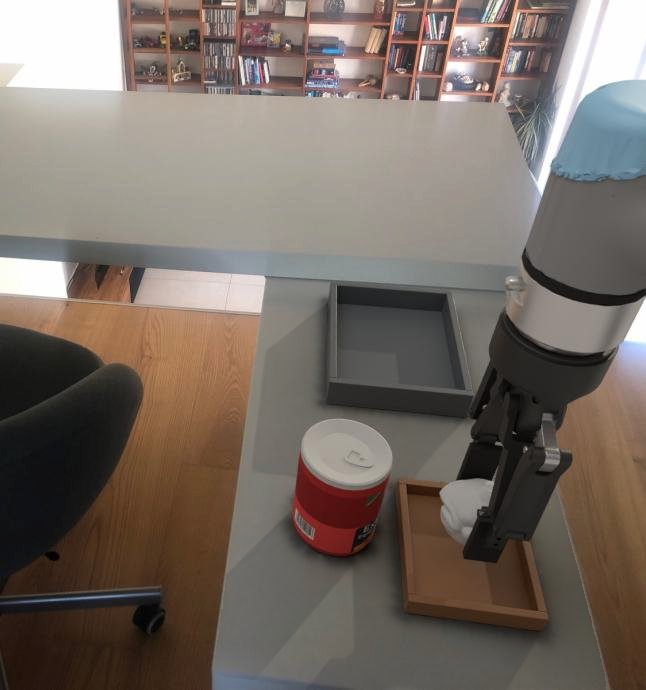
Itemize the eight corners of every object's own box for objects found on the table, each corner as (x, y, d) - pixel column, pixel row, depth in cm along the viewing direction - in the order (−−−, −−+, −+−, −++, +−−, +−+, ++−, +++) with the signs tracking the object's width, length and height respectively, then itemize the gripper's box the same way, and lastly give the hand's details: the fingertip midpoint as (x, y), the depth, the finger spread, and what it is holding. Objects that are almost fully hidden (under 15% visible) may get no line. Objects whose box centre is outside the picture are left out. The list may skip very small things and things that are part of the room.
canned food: (368, 568, 64) (388, 495, 57) (283, 545, 66) (292, 471, 59) (378, 503, 69) (398, 429, 62) (299, 483, 71) (310, 409, 64)
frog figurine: (501, 578, 60) (526, 532, 55) (420, 544, 62) (437, 497, 58) (514, 526, 64) (538, 478, 59) (437, 496, 66) (455, 448, 62)
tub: (466, 417, 78) (474, 395, 76) (325, 403, 80) (329, 381, 78) (446, 311, 93) (452, 290, 90) (327, 302, 95) (330, 281, 92)
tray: (541, 631, 59) (549, 620, 58) (404, 612, 61) (408, 600, 59) (512, 503, 69) (518, 491, 68) (394, 489, 71) (398, 477, 69)
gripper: (481, 242, 54) (420, 439, 69) (531, 419, 40) (442, 618, 55) (582, 249, 53) (499, 447, 68) (671, 434, 39) (541, 632, 54)
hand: (473, 523), depth 62 cm, fingers closed on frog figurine, 6 cm apart
